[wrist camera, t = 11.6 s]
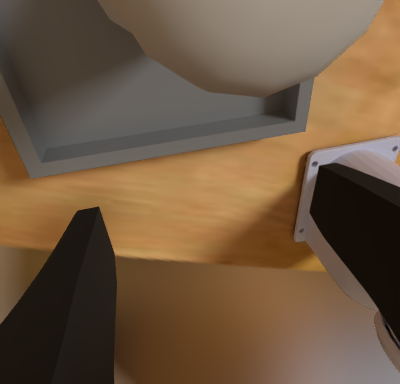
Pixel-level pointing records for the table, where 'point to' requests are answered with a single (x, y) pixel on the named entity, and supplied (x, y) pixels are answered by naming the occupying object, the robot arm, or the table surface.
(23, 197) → the table surface
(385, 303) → the robot arm
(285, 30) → the salt shaker
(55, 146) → the tray
